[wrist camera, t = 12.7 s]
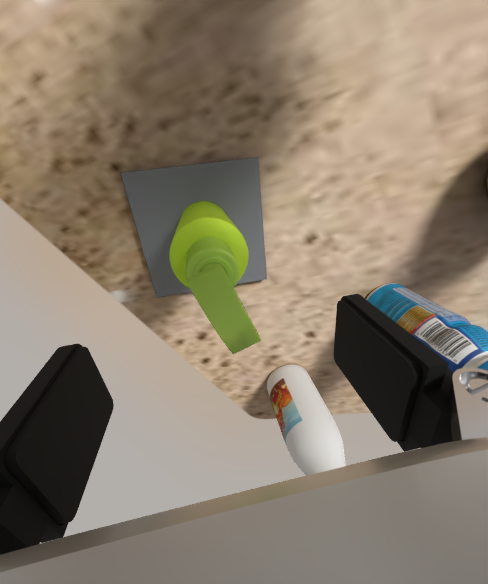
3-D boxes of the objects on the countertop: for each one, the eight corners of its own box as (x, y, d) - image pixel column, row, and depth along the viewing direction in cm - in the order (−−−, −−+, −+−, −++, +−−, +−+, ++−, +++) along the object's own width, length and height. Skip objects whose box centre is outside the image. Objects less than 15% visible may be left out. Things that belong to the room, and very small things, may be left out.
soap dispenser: (199, 264, 32) (203, 375, 14) (170, 214, 29) (129, 276, 11) (240, 244, 32) (295, 330, 14) (215, 191, 29) (245, 217, 11)
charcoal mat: (122, 172, 28) (120, 172, 27) (256, 157, 29) (257, 157, 28) (157, 294, 34) (156, 297, 33) (265, 276, 36) (266, 279, 35)
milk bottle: (291, 355, 43) (359, 484, 25) (315, 377, 46) (390, 506, 28) (256, 382, 44) (298, 523, 26) (282, 402, 47) (335, 540, 29)
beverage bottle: (411, 277, 40) (583, 358, 22) (401, 321, 44) (543, 422, 26) (362, 285, 39) (501, 376, 21) (356, 330, 43) (471, 440, 25)
